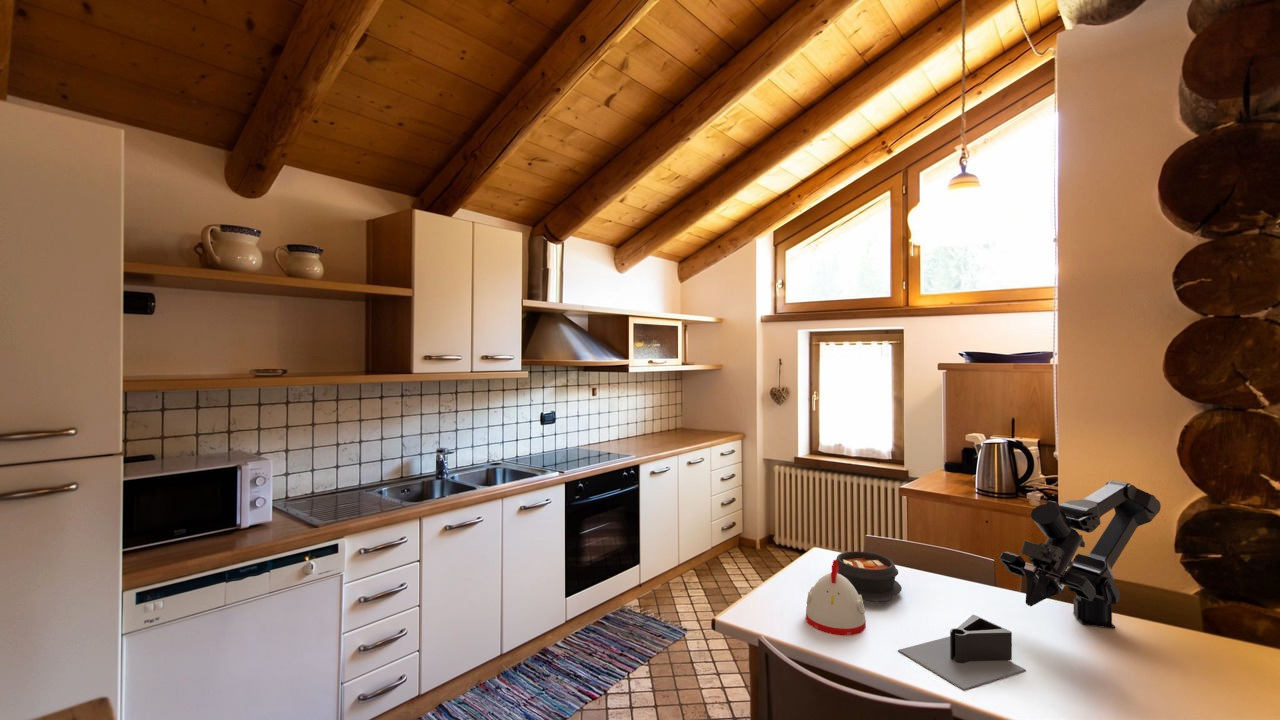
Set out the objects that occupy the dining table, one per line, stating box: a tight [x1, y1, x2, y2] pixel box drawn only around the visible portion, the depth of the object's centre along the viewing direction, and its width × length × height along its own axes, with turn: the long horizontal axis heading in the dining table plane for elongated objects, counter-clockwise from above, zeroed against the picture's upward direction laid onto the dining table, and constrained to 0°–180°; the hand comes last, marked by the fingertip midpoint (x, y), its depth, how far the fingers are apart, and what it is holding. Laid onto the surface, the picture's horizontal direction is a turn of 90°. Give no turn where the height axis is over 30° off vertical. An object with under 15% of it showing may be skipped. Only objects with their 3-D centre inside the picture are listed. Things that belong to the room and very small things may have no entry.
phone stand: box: [949, 614, 1013, 663], centre depth 122 cm, size 9×6×12 cm
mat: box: [897, 635, 1027, 691], centre depth 121 cm, size 18×16×1 cm
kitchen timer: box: [805, 559, 867, 636], centre depth 139 cm, size 14×14×15 cm
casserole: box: [835, 550, 902, 603], centre depth 158 cm, size 25×19×8 cm
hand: (1028, 604), depth 129 cm, fingers closed
